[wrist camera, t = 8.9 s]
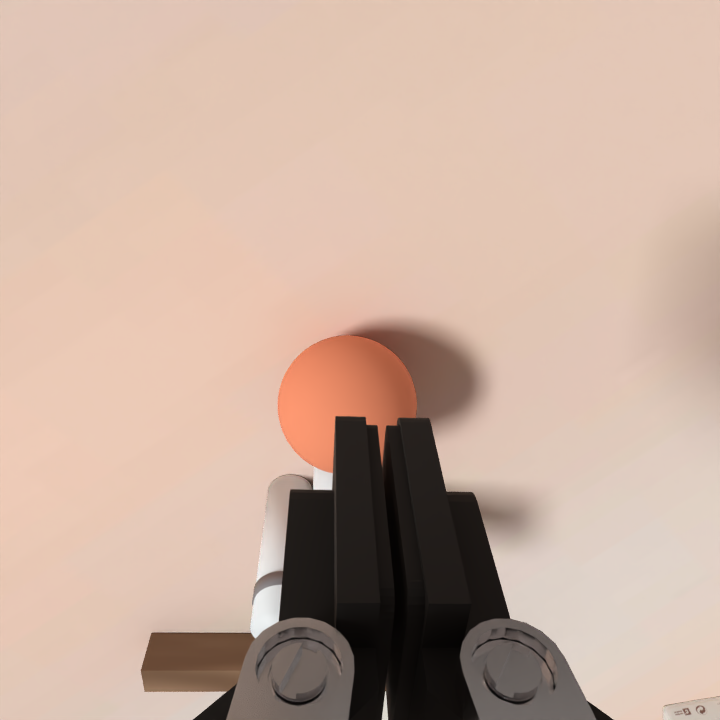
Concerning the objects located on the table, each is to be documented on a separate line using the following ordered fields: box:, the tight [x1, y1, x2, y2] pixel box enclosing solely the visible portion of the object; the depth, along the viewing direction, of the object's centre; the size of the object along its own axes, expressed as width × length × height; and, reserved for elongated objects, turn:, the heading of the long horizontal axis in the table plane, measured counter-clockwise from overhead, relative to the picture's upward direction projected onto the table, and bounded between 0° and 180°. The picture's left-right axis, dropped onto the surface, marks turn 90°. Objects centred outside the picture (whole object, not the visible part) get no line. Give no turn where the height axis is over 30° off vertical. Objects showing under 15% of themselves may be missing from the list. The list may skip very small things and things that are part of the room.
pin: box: [250, 475, 313, 639], centre depth 30 cm, size 2×2×8 cm
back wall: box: [141, 633, 386, 692], centre depth 39 cm, size 2×22×2 cm, turn 87°
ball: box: [278, 335, 417, 473], centre depth 28 cm, size 6×6×6 cm
